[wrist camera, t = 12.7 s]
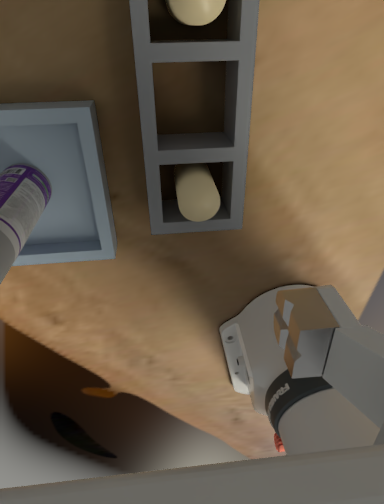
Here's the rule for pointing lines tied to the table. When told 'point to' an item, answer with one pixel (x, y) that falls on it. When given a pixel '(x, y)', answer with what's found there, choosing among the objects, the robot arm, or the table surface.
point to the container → (20, 209)
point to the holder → (198, 144)
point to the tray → (62, 179)
